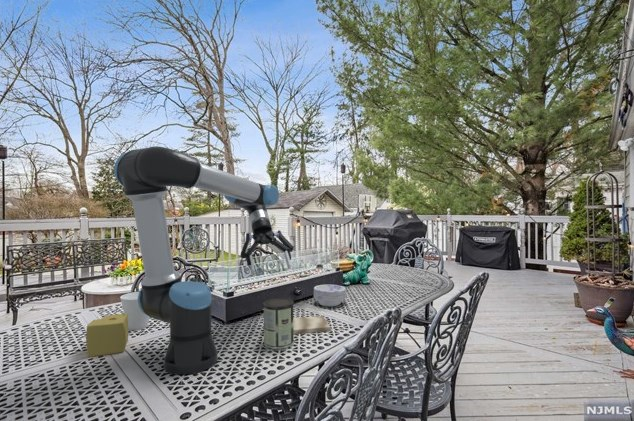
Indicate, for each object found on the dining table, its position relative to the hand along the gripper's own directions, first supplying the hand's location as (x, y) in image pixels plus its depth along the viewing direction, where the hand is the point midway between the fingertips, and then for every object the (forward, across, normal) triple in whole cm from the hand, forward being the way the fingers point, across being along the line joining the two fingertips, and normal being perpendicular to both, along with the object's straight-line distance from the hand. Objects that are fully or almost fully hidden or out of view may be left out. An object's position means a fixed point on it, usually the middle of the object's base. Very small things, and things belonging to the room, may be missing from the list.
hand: (272, 269), depth 126 cm
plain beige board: (+17, -11, -18) cm, 27 cm away
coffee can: (+24, +2, -8) cm, 25 cm away
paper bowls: (+2, -33, -37) cm, 49 cm away
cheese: (+11, +55, -18) cm, 59 cm away
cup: (-1, +48, -33) cm, 59 cm away
